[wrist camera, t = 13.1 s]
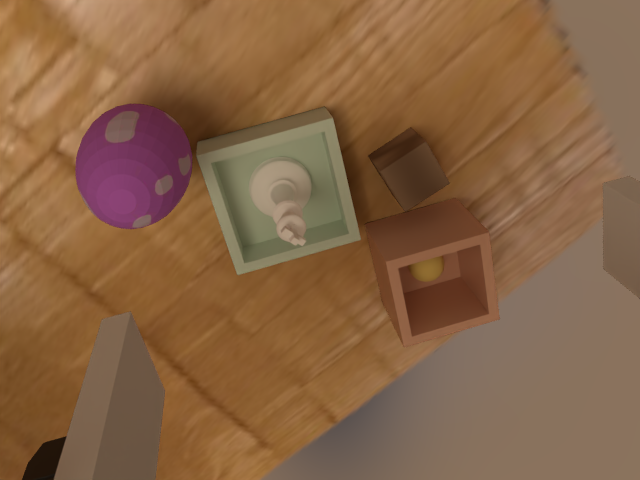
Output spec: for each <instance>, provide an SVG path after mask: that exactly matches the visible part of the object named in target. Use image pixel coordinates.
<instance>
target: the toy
mask: <svg viewBox="0 0 640 480" xmlns="http://www.w3.org/2000/svg"><path fill="white" fill-rule="evenodd" d="M191 171H192V152H191V148H190V144H189V140H188V138H187V136H186V134H185V132H184V130H183V129H182V128H181V126H180V125H179V124H178V123H177V121H176V120H175V119H173V118H172V117H171V116H169V115H168V114H167V113H166V112H164V111H161V110H159V109H157V108H155V107H152V106H148V105H144V104H126V105H122V106H117V107H115V108H113V109H111V110H109V111H107V112H105V113H104V114H102V115H101V116H100V117H99V118H98V119H96V120H95V121H94V122H93V123H92V125H91V126H90V128H89V129H88V131H87V132H86V134H85V135H84V137H83V138H82V141H81V144H80V147H79V150H78V153H77V157H76V180H77V185H78V190H79V192H80V194H81V196H82V198H83V200H84V202H85V204H86V205H87V207H88V208H89V209H90V211H91V212H92V213H93V214H94V215H95V216H97V217H98V218H99V219H100V220H102V221H104V222H105V223H107V224H109V225H112V226H115V227H119V228H125V229H135V228H142V227H145V226H148V225H151V224H153V223H156V222H158V221H159V220H161V219H162V218H164V217H165V216H167V215H168V214H169V213H170V212H171V211H172V210H173V209H174V207H175V206H176V205H177V204H178V203H179V202H180V200H181V198H182V197H183V195H184V193H185V191H186V189H187V187H188V184H189V180H190V176H191Z"/></svg>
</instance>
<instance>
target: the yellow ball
mask: <svg viewBox="0 0 640 480" xmlns="http://www.w3.org/2000/svg"><path fill="white" fill-rule="evenodd" d="M408 268H409V271H410V273H411V274H412V276H413V277H414V278H416V279H417V280H420V281H423V282H429V281H433V280H435V279H437V278H438V277H439V276H440V275H441V273H442V272H443V269H444V259H443V256H438V257H435V258H432V259H428V260H425V261H421V262H418V263H414V264H411V265H408Z"/></svg>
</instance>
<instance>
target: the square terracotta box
mask: <svg viewBox="0 0 640 480" xmlns="http://www.w3.org/2000/svg"><path fill="white" fill-rule="evenodd" d="M365 228H366V232H367V237H368V241H369V246H370V250H371V255H372V259H373V264H374V268H375V273H376V277H377V281H378V286H379V290H380V295H381V299H382V303H383V305H384V307H385V309H386V311H387V313H388V315H389V317H390V320H391V322H392V324H393V326H394V328H395V330H396V332H397V334H398V336H399V338H400V340H401V342H402V344H403V346H404V347H407V346H411V345H414V344H418V343H421V342H424V341H428V340H431V339H434V338H438V337H441V336H445V335H448V334H451V333H455V332H458V331H462V330H465V329H468V328H472V327H475V326H478V325H482V324H485V323H489V322H492V321H495V320H499V319H500V317H499V309H498V301H497V293H496V284H495V276H494V268H493V260H492V251H491V243H490V235H489V231H488V230H487V229H486V228H485V227H484V226H483V225H482V224H481V223H480V222H479V221H478V220H477V219H476V218H475V217H474V216H473V215H472V214H471V213H470V212H469V211H468V210H467V209H466V208H465V207H464V206H463V205H462V204H461V203H460V202H459V201H458V200H457V199H456V198H454V199H450V200H447V201H443V202H440V203H436V204H433V205H429V206H426V207H422V208H419V209H415V210H412V211H408V212H405V213H401V214H398V215H394V216H391V217H387V218H384V219H380V220H377V221H373V222H370V223H366V224H365ZM438 256H443V259H444V269H443V272H442V273H441V275H440V276H439V277H438V278H437V279H435V280H433V281H429V282H423V281H420V280H417V279H416V278H414V277H413V276H412V274H411V273H410V271H409V268H408V265H411V264H414V263H418V262H421V261H425V260H428V259H432V258H435V257H438Z"/></svg>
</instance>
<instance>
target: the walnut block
mask: <svg viewBox="0 0 640 480" xmlns="http://www.w3.org/2000/svg"><path fill="white" fill-rule="evenodd" d="M368 157H369V158H370V160H371V161H372V163H373V165H374V166H375V168H376V169H377V171H378V173H379V174H380V176H381V177H382V179H383V180H384V182H385V184H386V185H387V187H388V188H389V190H390V192H391V193H392V195H393V196H394V197H395V199H396V200H397V201H398V203H399V204H400V205H401V207H402V208H403V210H404V211H405V212H406V211H408V210H409V209H411V208H412V207H414V206H415V205H417V204H419V203H420V202H422V201H423V200H425V199H426V198H428V197H429V196H431V195H433V194H434V193H436V192H437V191H439V190H440V189H442V188H443V187H445V186H446V185H448V184H450V182H449V181H448V179H447V177H446V175H445V174H444V172H443V170H442V168H441V167H440V165H439V163H438V161H437V160H436V158H435V156H434V154H433V153H432V151H431V149H430V147H429V145H428V144H427V142H426V141H425V140H424V139H423V138H422V137H421V136H420V135H418V134H417V133H416V132H415V131H414V130H413V129H412V128H411V127H410V128H409V129H407V130H406V131H404V132H403V133H401V134H400V135H398V136H397V137H395V138H394V139H392V140H391V141H389V142H388V143H386V144H385V145H383V146H382V147H380V148H379V149H377V150H376V151H374V152H373V153H371V154H370V155H368Z"/></svg>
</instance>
